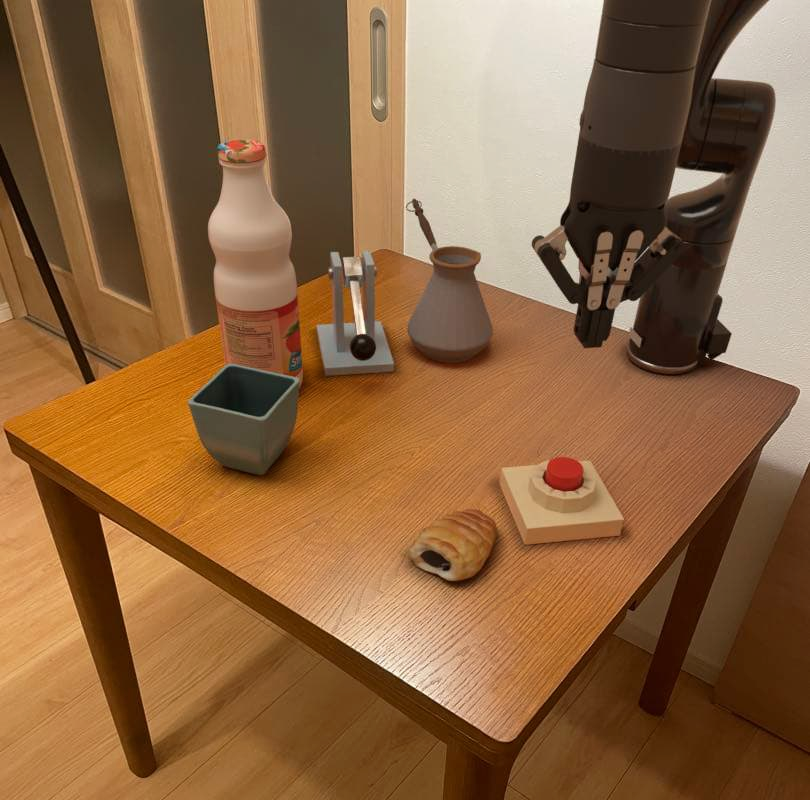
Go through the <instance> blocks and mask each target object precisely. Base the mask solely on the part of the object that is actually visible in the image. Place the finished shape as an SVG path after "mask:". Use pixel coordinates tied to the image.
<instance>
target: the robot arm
mask: <svg viewBox="0 0 810 800" xmlns="http://www.w3.org/2000/svg"><path fill="white" fill-rule="evenodd" d="M769 1H770V0H603V2H602V9H601V14H600V15H601V16H600V21H599V27H598V34H597V40H596V46H595V53H594V57H595V58H594V59H593V64H592V67H591V72H590V76H589V79H588V82H587V86H586V89H585V95H584V99H583V107H582V111H581V113H580V115H579V133H578V137H577V138H578V139H577V145H576V151H575V158H574V164H573V171H572V177H571V178H572V179H571V184H570V193H569V201H568V204H567V206H566V208H565V209H564V211H563V213H562V214H561V216H560V218H559V219H560V221H559V226H558V227H557V228H555V229H554V230H552V231H551V232H550V233H548V235H546V236H544V235H541V234H540V235H536V236H535V237H533V239H532V240H531V248H532V249H533V250H534V253H536V255H537V257H538V258H539V259H540V262H541V263H542V265H543V266H544V267H545V269H546V271H547V272H548V274H549V275H550V276H551V278H552V281H554V283H555V284H556V286H557V288H558V289H559V291H560V292H561V293H562V294H563V297H565V299H566V300H567V301H568V303H569V304H571V305H576V304H577V307H576V312H575V313H576V314H575V319H574V324H573V325H574V326H573V333H574V336H575V337H576V339H577V341H578V342H579V343H580V345H581V346H582V348H583V349H595V348H602V347H603V343H604V342H606V341H607V340H608V339H609V337H610V335H611V331H612V326H613V321H614V317H615V312H616V309H617V308H618V307H619V305H620V304H621V303H623V302H626V301H628V300H629V301H630V302H636V301H638V305H637V309H636V313H635V317H634V321H633V326H632V327H631V326H630V328H629V332H628V336H627V337H629V342H628V345H627V348H626V356H627V358H628V359H629V360H630V362H632V363H633V364H634V365H635V366H637V367H639V368H641V369H643V370H646V371H648V372H653V373H657V374H663V375H681V374H686V373H689V372H691V371H693V370H695V368H698V367H703V366H704V363H705V361H706V357H707V358H708V359H710V361H713V360H714V359H716V358H718V357H719V356H721V355H722V354H726V353H727V350H728V347H729V343H730V341H731V337H732V335H733V332H731V331H730V330H729V329H728V327H726V326H725V325H724V324H723V323H722V322H721V321H720V320H719V319H718V318H719V314H720V311H721V308H722V305H723V300H724V299H723V297H722V296H721V295H720V294H719V291H720V288H721V284H722V282H723V281H722V280H723V278H724V274H725V271H726V268H727V264H728V261H729V257H730V254H731V252H732V251H731V250H732V248H733V245H734V241H735V237H736V234H737V230H738V228H739V224H740V221H741V217H742V214H743V211H744V207H745V204H746V202H747V199H748V195H749V192H750V188H751V186H752V182H753V179H754V177H755V174H756V171H757V168H758V166H759V163H760V160H761V158H762V155H763V152H764V150H765V146H766V143H767V141H768V137H769V136H770V135H769V134H770V132H771V129H772V124H773V121H774V116H775V112H776V106H777V105H776V103H777V98H776V97H777V96H776V92H775V89H774V87H773V85H771V84H770V83H767V82H762V81H754V80H743V79H731V78H719V77H718V78H717V77H716V78H715V77H713V76H714V74H715V72H716V70H717V68H718V67H719V64H720V63H721V61H722V59H723V57H724V55H725V54H726V52H727V51H728V49H729V48H730V46H731V45H732V44H733V42H734V40H735V39H736V38H737V37H738V36H739V34H740V33H741V32H742V30H744V28H745V27H746V26H747V25H748V23H750V21H751V20H752V19H754V17H755V16H756V14H758V12H759V11H761V9H762V8H764V6H765V5H766V4H767V3H768V2H769ZM676 169H679V170H685V171H695V172H702V173H703V172H704V173H715V174H721V175H719V177H718V178H716V180H714V181H712V182H710V183H709V184H707V185H705V186H702V187H700V188H697V189H694V190H690V191H686V192H683V193H679V194H678V193H677V194H675V195H673V196H671V197H670V193H671V189H672V184H673V181H674V176H675V173H676ZM567 242H568V244H569V246H570V247H571V249H572V251H573V253H574V255H575V256H576V258H577V259H578V264H577V265H578V272H579V278H578V282H576V281H574V279H573V277H572V275H571V274H570V273H569V271H568V270H567V268H566V266H565V265H564V263H563V260H565V258H566V256H567V249H566V244H567Z"/></svg>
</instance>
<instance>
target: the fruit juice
mask: <svg viewBox="0 0 810 800" xmlns="http://www.w3.org/2000/svg"><path fill="white" fill-rule="evenodd" d="M217 158H218V163H219V165H220V166H221V167H222V173H223V174H222V184H221V186H222V187H221V190H220V195H219V199H218V201H217V204H216V205H215V207H214V209H213V211H212V213H211V215H210V217H209V219H208V224H207V234H208V236H207V237H208V242H209V245H210V247H211V250H212V252H213V254H214V257H215V265H214V269H213V287H214V289H213V290H214V297H215V302H216V309H217V317H218V324H219V330H220V338H221V345H222V351H223V358H224V366H225V365H227V364H237V365H242V366H245V367H251V368H255V369H260V370H264V371H269V372H274V373H278V374H283V375H288V376H293V377H296V378H299V379H300V383H299V389H300V388H301V386H302V385H303V379H304V368H303V353H302V342H301V341H302V339H301V326H300V312H299V311H300V310H299V296H298V294H299V293H298V282H297V275H296V270H295V267H294V263H293V262H292V260H291V257H290V252H291V245H292V240H293V232H292V231H293V230H292V225H291V221H290V218H289V216H288V215H287V213H286V212H285V210H284V209H283V208H282V207H281V205H280V204H278V202H277V201H276V199H275V197H274V196H273V194H272V191H271V189H270V186H269V183H268V180H267V176H266V172H265V164H266V162H267V150H266V146H265V144H264V143H263V142H261V141H258V140H254V139H248V138H247V139H246V138H244V139H243V138H241V139H239V138H238V139H230V140H226V141H222V142H221V143H219V144H218V146H217Z"/></svg>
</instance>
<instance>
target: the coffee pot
mask: <svg viewBox="0 0 810 800" xmlns="http://www.w3.org/2000/svg"><path fill="white" fill-rule="evenodd" d="M410 204H412V207H413V210H412V209H408V206H409V205H410ZM422 207H423V206H422V202H421V201H420V200H417V199H416V198H412V200H411V201H409V202H408V203H406V205H405V210H406V211H408V212H409V213H410V212H412V213H413V212H414V215H415V216H416V217H417V218H418V219H417V220H418V224H419V227H420V229H421V231H422V233H423V235H424V237H425V238H426V241H427V243H428V245H429V247H430V248H431V251H430V252H429V260H430V262H431V263H432V267H433V272H432V274H431V275H430V278H429V280H428V282H427V283H426V286H425V288H424V290H423V292H422V294H421V296H420V298H419V300H418V302H417V304H416V307H415V309H414V311H413V313H412V314H411V317H410V319H409V321H408V323H407V330H406V331H407V334H408V336H409V338H410V340H411V342H412V344H413V345H414V346H415V347H416V348H417V349H418V350H419V351H421V352H422V354H423V355H425V357H427V358H428V359H431V360H434V361H437V362H442V363H461V362H465V361H468V360H470V359H472V358H473V357H475V356H476V355H477V354H479V353H480V352H481V351H483V350H484V349H485V348H486V347H487V346H488V345H489V343H490V342H491V340H492V337H493V335H494V329H493V324H492V321H491V318H490V316H489V312H488V310H487V307H486V304H485V301H484V298H483V295H482V292H481V289H480V286H479V284H478V280H477V278H476V275H475V270H476V267H477V265H479V263H480V261H481V259H482V253H481V252H479V251H476V250H475V249H471V248H469V247H465V246H458V245H457V246H456V245H454V246H453V245H450V246H448V245H447V246H441V247H438V244H437V241H436V238H435V235H434V233H433V230H432V226H431V224H430V222H429V220H428V219H427V217H426V216H425V214H424V209H423V208H422Z"/></svg>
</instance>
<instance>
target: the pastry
mask: <svg viewBox="0 0 810 800" xmlns="http://www.w3.org/2000/svg"><path fill="white" fill-rule="evenodd" d="M497 533H498V526H497V524H496V521H495V520H494V518H492V517H491V516H489V515H488V514H485V513H484V511H482V510H481V509H472V508H471V509H465V510H460V511H459V510H455V511H454V512H452V514H449V513H446V514H444V515H443V516H442V517H441V518H436V519H435V520H434V521H433V522H432V523H431V525H430V526H426V527H424V528H422V529H421V531H420V532H419V533H418V535H417V538H416V540H415V543H414V544H413V545H412V547H410V548H409V551H408V552H409V557H410V559H411V560H412V561H413V563H414V565H415V566H416V567H418V568H419V569H422V570H423V571H426V572H429V573H432V574H434V575H438V576H439V577H440V578H443V579H444V580H446V581H449V582H458V581H464V580H467V579H470V578H472V577H474V576H475V575H476V574H477V573H479V571H480V570H482V568H483V566H484V564H485V562H486V561H487V559H488V558H489V556H490V554H491V551H492V549H493V547H494V544H495V542H496V538H497Z"/></svg>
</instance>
